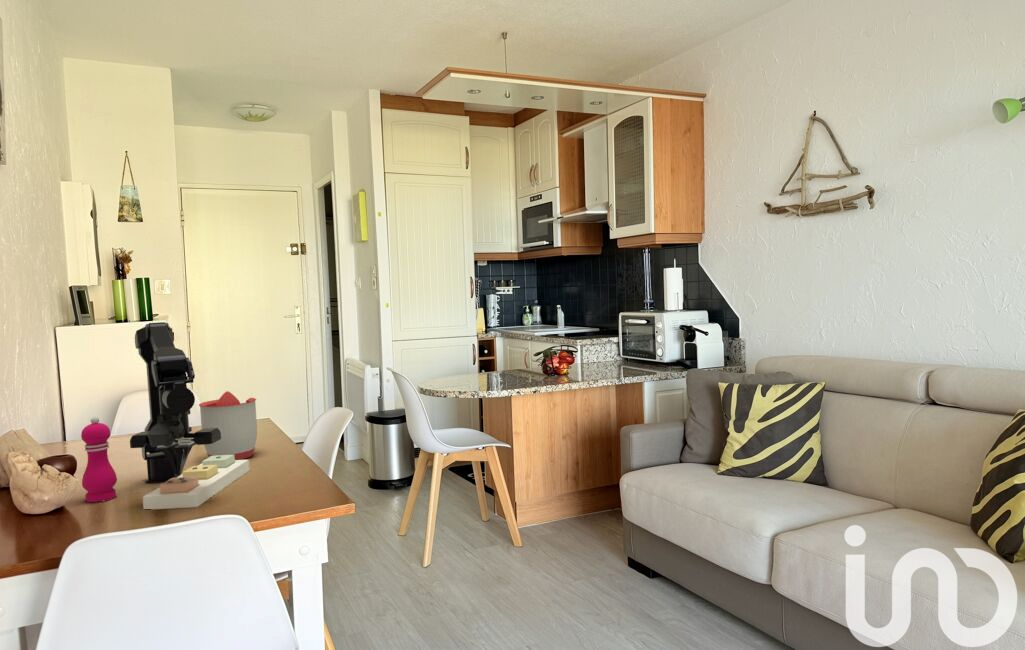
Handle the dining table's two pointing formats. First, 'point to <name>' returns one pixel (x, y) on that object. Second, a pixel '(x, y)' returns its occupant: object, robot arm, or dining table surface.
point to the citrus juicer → (231, 425)
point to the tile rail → (197, 489)
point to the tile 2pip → (201, 472)
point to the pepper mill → (98, 463)
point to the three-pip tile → (179, 485)
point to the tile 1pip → (219, 461)
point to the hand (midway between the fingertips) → (178, 474)
